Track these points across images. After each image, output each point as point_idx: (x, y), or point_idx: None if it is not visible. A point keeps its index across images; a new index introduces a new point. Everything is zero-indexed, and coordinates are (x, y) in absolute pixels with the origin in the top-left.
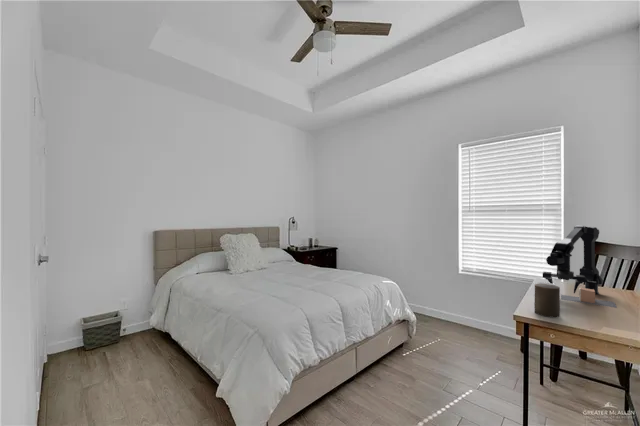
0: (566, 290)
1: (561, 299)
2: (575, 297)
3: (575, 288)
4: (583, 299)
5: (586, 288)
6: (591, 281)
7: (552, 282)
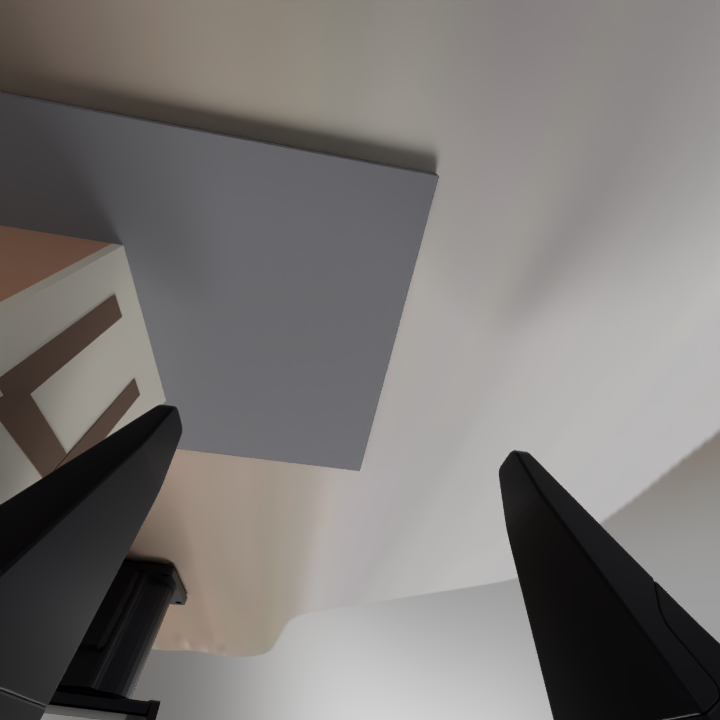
0: (293, 580)
1: (422, 190)
2: (212, 420)
3: (44, 501)
4: (35, 250)
5: (144, 616)
6: (70, 712)
7: (673, 697)
